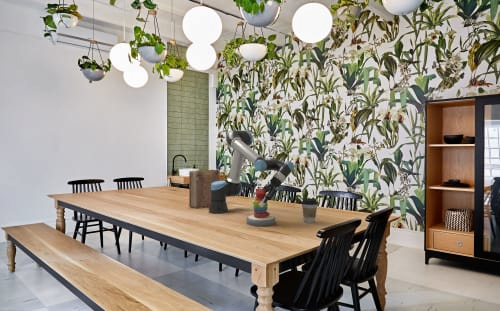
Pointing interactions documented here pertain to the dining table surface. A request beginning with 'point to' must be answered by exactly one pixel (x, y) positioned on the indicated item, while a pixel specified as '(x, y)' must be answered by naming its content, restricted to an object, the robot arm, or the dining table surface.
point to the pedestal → (260, 221)
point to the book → (201, 187)
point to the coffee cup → (309, 210)
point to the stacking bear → (259, 197)
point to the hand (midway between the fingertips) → (256, 205)
